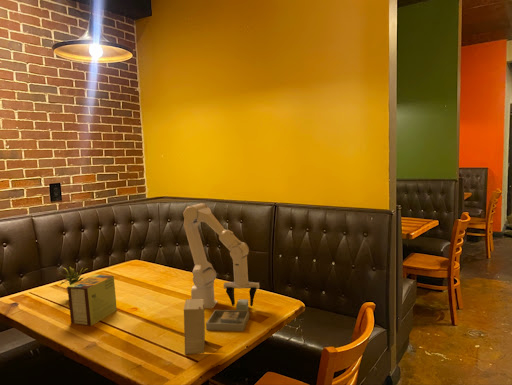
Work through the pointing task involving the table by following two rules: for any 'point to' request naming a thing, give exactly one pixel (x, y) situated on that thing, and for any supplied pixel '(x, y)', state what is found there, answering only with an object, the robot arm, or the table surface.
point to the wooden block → (230, 317)
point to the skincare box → (194, 326)
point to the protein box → (92, 299)
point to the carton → (242, 304)
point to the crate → (216, 324)
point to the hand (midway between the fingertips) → (242, 305)
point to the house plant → (72, 276)
